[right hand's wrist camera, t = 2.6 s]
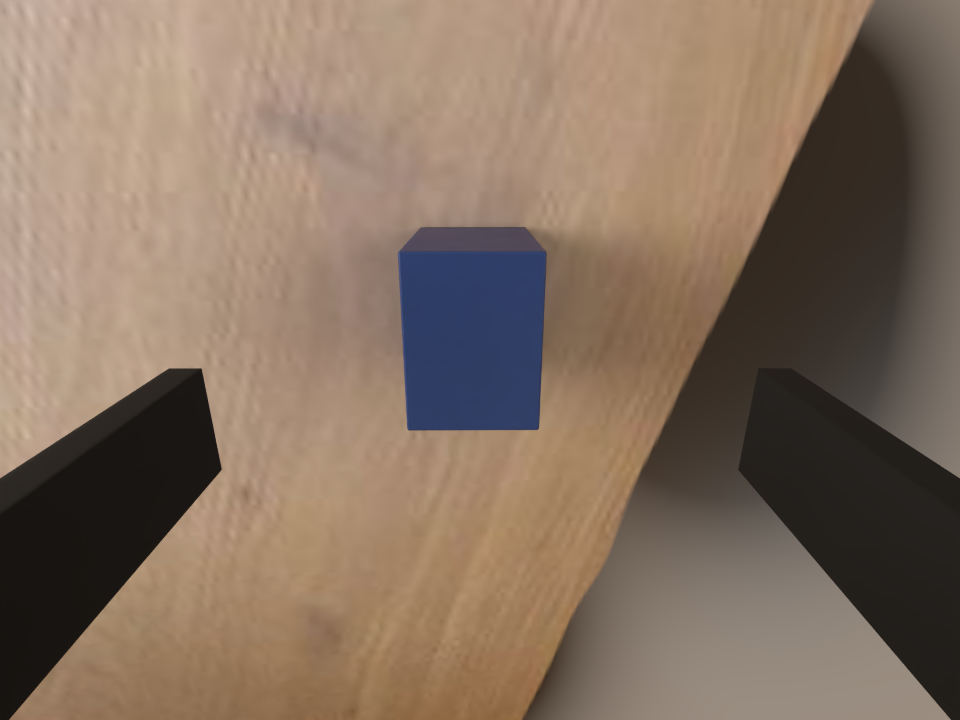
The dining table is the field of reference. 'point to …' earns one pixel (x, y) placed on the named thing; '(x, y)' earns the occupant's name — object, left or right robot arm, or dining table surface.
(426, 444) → the dining table surface
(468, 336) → the block
